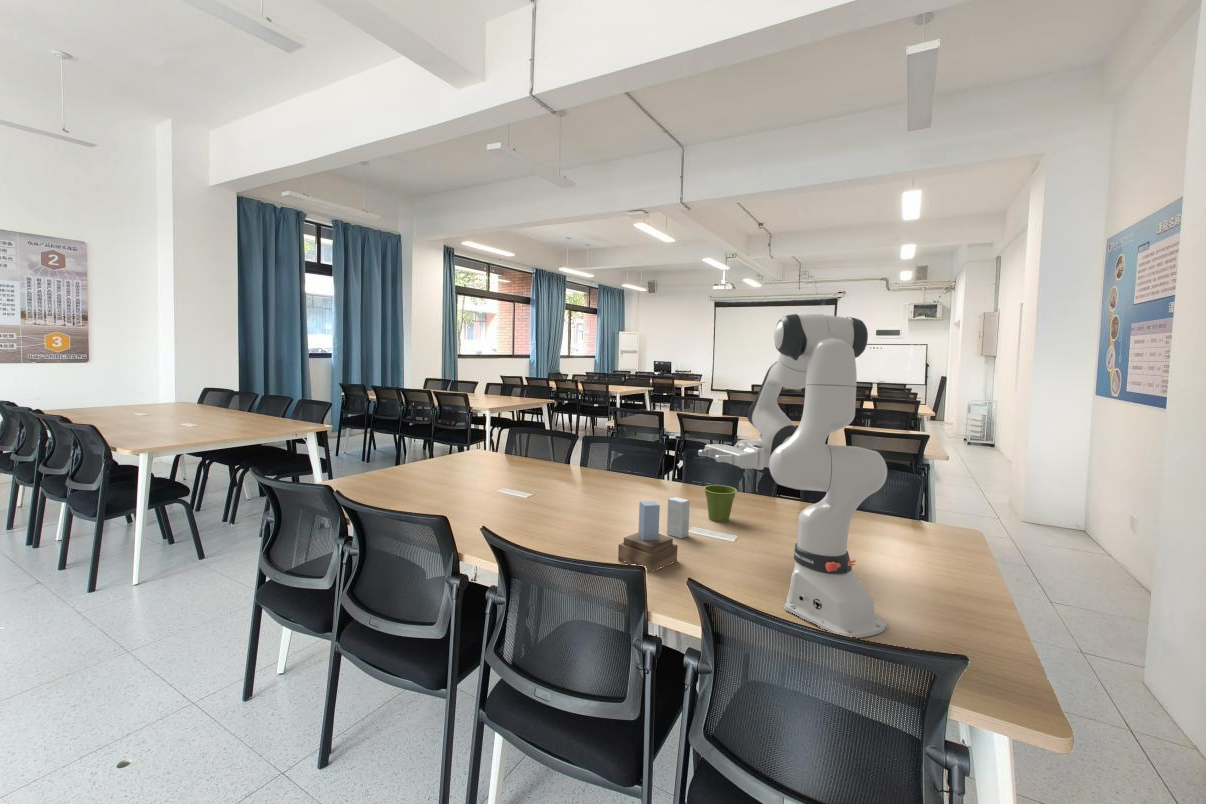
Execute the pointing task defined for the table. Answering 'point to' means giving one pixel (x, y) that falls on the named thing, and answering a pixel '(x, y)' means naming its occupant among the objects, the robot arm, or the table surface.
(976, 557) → the table surface
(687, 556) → the table surface
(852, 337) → the robot arm
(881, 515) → the table surface
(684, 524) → the skincare box
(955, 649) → the table surface
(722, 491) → the plant pot
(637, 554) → the walnut block
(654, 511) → the slate block
